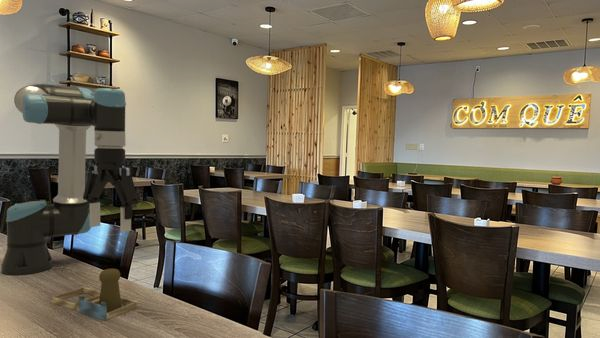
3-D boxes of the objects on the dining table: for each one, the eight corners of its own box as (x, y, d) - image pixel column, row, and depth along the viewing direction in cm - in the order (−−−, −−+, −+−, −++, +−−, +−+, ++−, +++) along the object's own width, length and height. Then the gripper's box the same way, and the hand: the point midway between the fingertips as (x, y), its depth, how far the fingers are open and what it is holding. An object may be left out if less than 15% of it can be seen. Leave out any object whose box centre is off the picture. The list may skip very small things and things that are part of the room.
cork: (112, 315, 112) (112, 273, 111) (92, 312, 113) (92, 271, 112) (126, 306, 117) (126, 267, 117) (107, 304, 119) (107, 265, 118)
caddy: (48, 303, 118) (48, 287, 118) (83, 291, 128) (83, 277, 128) (104, 320, 108) (104, 303, 108) (138, 306, 117) (138, 291, 117)
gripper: (68, 146, 115) (68, 226, 116) (130, 148, 104) (129, 236, 105) (92, 146, 121) (93, 222, 123) (153, 148, 111) (152, 231, 112)
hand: (110, 228), depth 114 cm, fingers open, 11 cm apart
